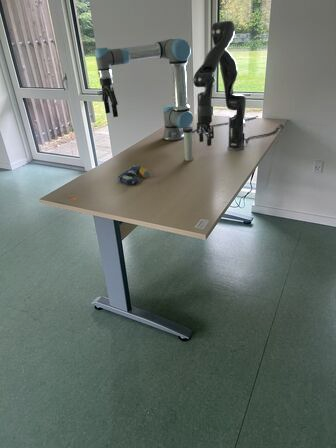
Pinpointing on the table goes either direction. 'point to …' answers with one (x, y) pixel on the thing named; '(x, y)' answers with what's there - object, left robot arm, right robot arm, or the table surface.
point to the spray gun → (133, 172)
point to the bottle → (188, 146)
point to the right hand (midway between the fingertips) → (205, 143)
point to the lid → (187, 129)
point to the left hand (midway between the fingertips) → (111, 114)
